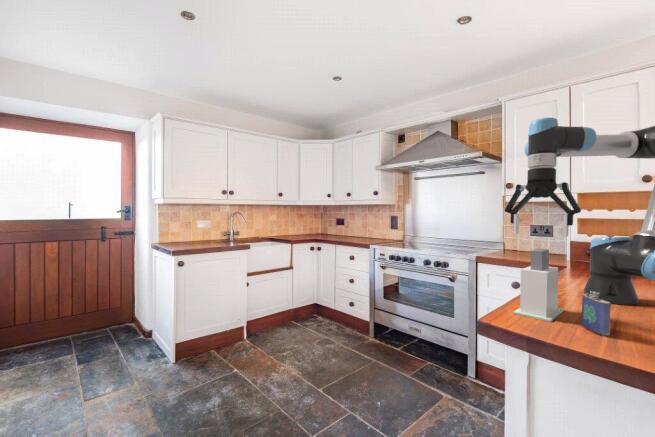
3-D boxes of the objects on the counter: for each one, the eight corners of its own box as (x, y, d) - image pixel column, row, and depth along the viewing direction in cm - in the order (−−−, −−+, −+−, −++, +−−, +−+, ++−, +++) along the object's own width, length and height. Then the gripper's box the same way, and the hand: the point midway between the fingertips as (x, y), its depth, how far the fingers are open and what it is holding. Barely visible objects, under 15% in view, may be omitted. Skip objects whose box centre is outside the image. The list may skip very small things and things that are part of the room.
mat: (563, 310, 103) (563, 308, 103) (550, 322, 93) (550, 319, 92) (528, 303, 111) (528, 302, 111) (513, 313, 100) (513, 311, 100)
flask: (612, 337, 81) (613, 296, 81) (599, 336, 82) (600, 295, 82) (588, 324, 91) (589, 287, 90) (577, 324, 91) (577, 287, 91)
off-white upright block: (557, 308, 103) (558, 249, 103) (546, 317, 95) (547, 252, 94) (532, 303, 109) (533, 247, 108) (520, 311, 100) (521, 250, 99)
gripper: (495, 170, 107) (493, 232, 108) (589, 163, 89) (587, 238, 89) (503, 172, 112) (501, 232, 113) (594, 165, 94) (592, 237, 94)
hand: (539, 235), depth 101 cm, fingers open, 13 cm apart
